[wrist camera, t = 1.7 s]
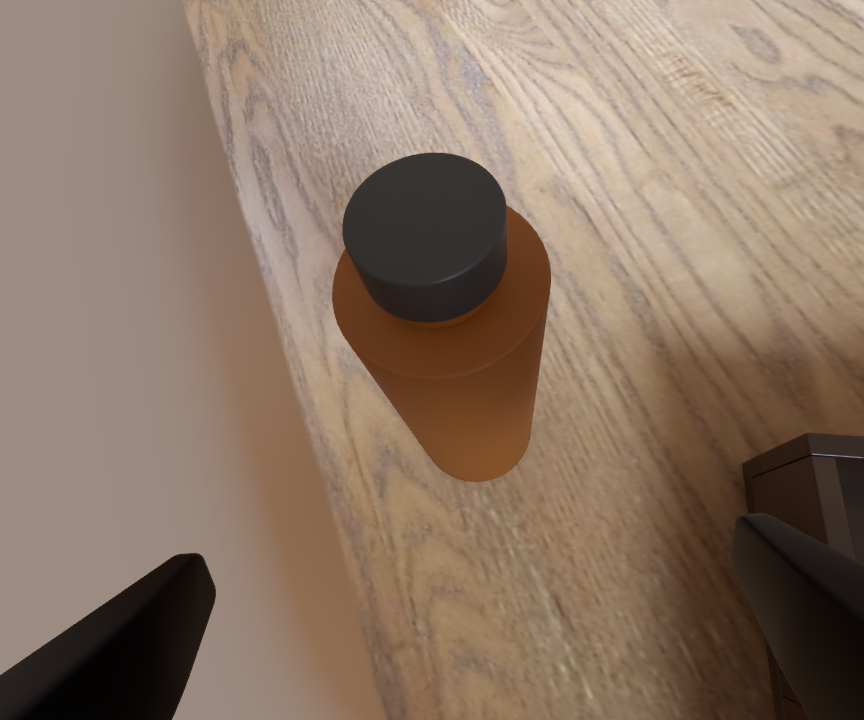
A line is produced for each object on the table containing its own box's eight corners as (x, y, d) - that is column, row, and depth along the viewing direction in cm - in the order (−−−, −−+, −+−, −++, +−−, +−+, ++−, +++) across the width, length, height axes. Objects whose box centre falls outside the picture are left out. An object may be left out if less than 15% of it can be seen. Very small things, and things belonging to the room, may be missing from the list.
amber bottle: (528, 487, 20) (557, 339, 7) (415, 476, 21) (265, 328, 8) (532, 379, 22) (562, 111, 9) (428, 374, 23) (323, 122, 10)
